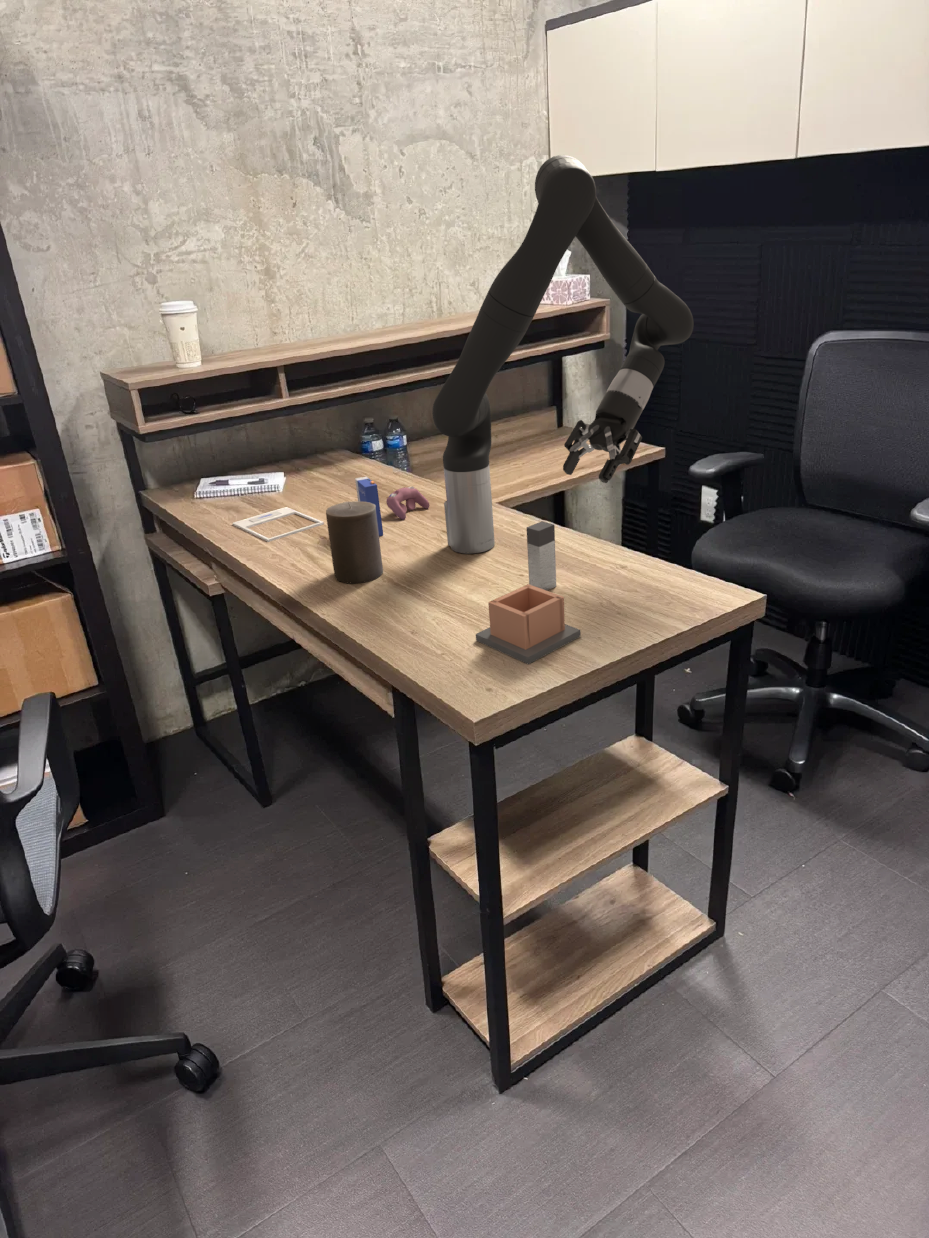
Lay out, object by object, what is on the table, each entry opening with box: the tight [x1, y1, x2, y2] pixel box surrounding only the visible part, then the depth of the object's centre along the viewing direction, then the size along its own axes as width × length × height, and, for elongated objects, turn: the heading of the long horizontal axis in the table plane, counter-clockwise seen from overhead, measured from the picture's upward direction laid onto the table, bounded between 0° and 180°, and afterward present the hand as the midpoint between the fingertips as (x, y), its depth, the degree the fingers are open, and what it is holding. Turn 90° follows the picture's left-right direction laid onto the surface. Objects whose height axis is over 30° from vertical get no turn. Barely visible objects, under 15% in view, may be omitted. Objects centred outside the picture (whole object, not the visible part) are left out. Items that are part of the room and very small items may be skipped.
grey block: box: [526, 520, 557, 591], centre depth 150 cm, size 3×4×12 cm
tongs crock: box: [475, 583, 582, 665], centre depth 134 cm, size 12×12×7 cm
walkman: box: [354, 476, 384, 537], centre depth 185 cm, size 8×3×12 cm, turn 23°
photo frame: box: [232, 506, 325, 543], centre depth 197 cm, size 15×1×18 cm
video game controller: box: [385, 486, 430, 520], centre depth 197 cm, size 10×5×7 cm, turn 141°
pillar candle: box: [325, 500, 384, 585], centre depth 162 cm, size 10×10×15 cm
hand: (584, 476), depth 152 cm, fingers open, 8 cm apart
